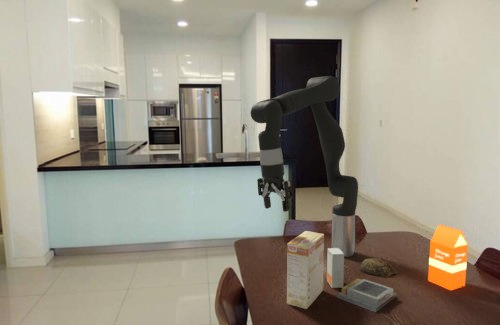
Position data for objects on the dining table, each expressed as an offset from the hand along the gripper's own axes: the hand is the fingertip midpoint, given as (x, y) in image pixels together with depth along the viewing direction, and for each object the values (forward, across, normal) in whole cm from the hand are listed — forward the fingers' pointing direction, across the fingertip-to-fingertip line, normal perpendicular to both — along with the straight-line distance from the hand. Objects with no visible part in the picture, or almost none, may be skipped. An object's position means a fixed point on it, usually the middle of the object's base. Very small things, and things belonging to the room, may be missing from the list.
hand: (276, 209), depth 127 cm
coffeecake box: (+27, -11, +2) cm, 30 cm away
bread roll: (+32, -15, -35) cm, 49 cm away
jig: (+29, -24, -12) cm, 40 cm away
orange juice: (+33, -37, -42) cm, 65 cm away
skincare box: (+29, -12, -12) cm, 34 cm away
